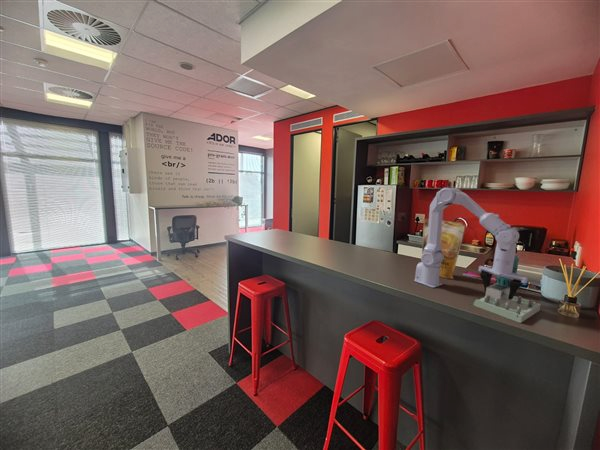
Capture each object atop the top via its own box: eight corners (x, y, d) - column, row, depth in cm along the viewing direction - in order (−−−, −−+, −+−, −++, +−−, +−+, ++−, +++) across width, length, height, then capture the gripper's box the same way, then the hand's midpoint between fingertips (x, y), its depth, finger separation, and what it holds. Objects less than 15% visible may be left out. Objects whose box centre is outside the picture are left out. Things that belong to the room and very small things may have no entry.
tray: (473, 305, 94) (475, 295, 93) (494, 295, 103) (496, 286, 103) (520, 323, 82) (522, 311, 82) (539, 310, 92) (541, 300, 91)
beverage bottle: (490, 289, 110) (497, 245, 107) (500, 287, 112) (507, 244, 109) (507, 295, 104) (515, 249, 101) (517, 293, 106) (525, 248, 103)
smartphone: (497, 283, 117) (462, 273, 128) (497, 285, 117) (462, 275, 129) (502, 280, 121) (468, 271, 133) (502, 282, 121) (467, 272, 133)
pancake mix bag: (421, 268, 138) (426, 217, 133) (459, 278, 123) (467, 222, 119) (415, 270, 134) (420, 218, 129) (453, 281, 119) (461, 223, 114)
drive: (484, 300, 94) (486, 286, 94) (495, 296, 99) (497, 282, 98) (499, 306, 91) (501, 291, 90) (509, 300, 95) (511, 286, 95)
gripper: (476, 256, 97) (472, 289, 99) (524, 267, 85) (518, 304, 87) (485, 254, 100) (480, 286, 102) (532, 264, 88) (525, 300, 90)
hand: (498, 294), depth 95 cm, fingers open, 7 cm apart
